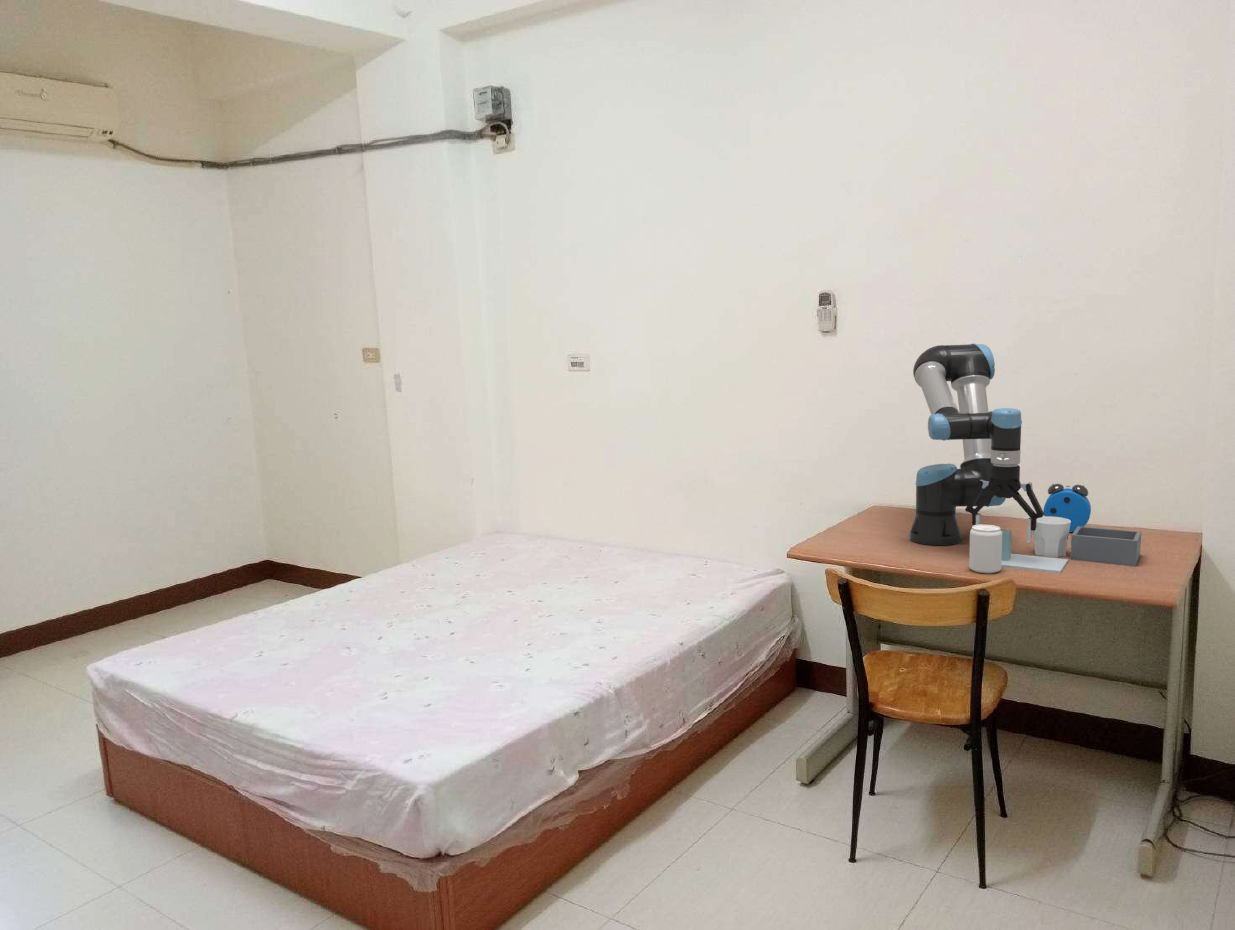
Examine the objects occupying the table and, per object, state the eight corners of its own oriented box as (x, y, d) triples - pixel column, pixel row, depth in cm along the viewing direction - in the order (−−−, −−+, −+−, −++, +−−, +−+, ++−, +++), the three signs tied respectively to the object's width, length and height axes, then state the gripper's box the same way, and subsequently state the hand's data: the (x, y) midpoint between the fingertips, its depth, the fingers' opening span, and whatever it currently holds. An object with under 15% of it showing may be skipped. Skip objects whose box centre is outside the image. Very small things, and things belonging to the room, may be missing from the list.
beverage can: (963, 567, 250) (964, 525, 248) (992, 565, 251) (993, 523, 249) (977, 575, 242) (978, 531, 240) (1006, 573, 243) (1008, 529, 241)
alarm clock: (1090, 530, 284) (1092, 483, 282) (1089, 534, 279) (1091, 487, 277) (1044, 527, 291) (1045, 481, 288) (1042, 531, 286) (1044, 484, 283)
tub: (1070, 559, 253) (1071, 535, 252) (1076, 549, 263) (1077, 526, 262) (1135, 566, 244) (1137, 541, 243) (1140, 555, 254) (1141, 531, 253)
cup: (1023, 552, 263) (1024, 519, 261) (1048, 547, 266) (1049, 515, 265) (1051, 560, 253) (1053, 525, 252) (1077, 555, 257) (1078, 521, 256)
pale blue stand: (989, 566, 251) (989, 535, 250) (999, 555, 262) (1000, 525, 260) (1060, 574, 241) (1061, 541, 240) (1067, 562, 252) (1069, 531, 250)
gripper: (955, 464, 255) (953, 537, 258) (1052, 469, 241) (1049, 546, 244) (962, 460, 261) (960, 531, 264) (1056, 464, 247) (1054, 540, 250)
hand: (1003, 539), depth 254 cm, fingers open, 13 cm apart
